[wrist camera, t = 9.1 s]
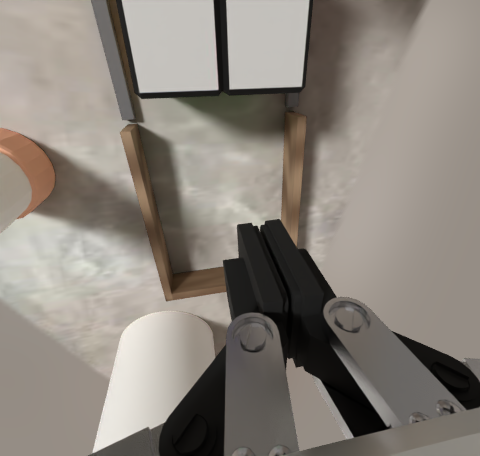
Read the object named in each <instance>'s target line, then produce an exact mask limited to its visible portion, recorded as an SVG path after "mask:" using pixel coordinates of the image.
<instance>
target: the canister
mask: <svg viewBox="0 0 480 456" xmlns="http://www.w3.org/2000/svg"><path fill="white" fill-rule="evenodd" d="M214 359H215V350H214V340H213V333H212V330H211V328H210V326H209V325H208V324H207V323H206V322H205V321H204V320H202V319H201V318H199V317H197V316H195V315H192V314H189V313H185V312H180V311H162V312H156V313H152V314H148V315H146V316H143V317H141V318H139V319H137V320H135V321H134V322H132V323H131V324H130V325H129V326H128V327H127V328H126V329H125V330H124V332H123V334H122V336H121V339H120V343H119V347H118V351H117V355H116V359H115V363H114V367H113V371H112V375H111V379H110V383H109V388H108V392H107V396H106V400H105V404H104V408H103V412H102V416H101V420H100V424H99V429H98V432H97V437H96V441H95V445H94V449H93V453H95V452H97V451H99V450H101V449H103V448H105V447H107V446H109V445H111V444H113V443H115V442H117V441H119V440H122V439H124V438H126V437H128V436H130V435H132V434H134V433H136V432H138V431H140V430H142V429H144V428H146V427H149V429H152V428H154V427H156V426H158V425H160V424H163V423H165V422H166V420H167V419H168V417H169V415H170V414H171V413H172V412H173V410H174V409H175V408H176V407H177V405H178V404H179V403H180V402H181V400H182V399H183V398H184V397H185V395H186V394H187V393H188V392H189V390H190V389H191V388H192V387H193V385H194V384H195V383H196V382H197V380H198V379H199V378H200V377H201V375H202V374H203V373H204V372H205V370H206V369H207V368H208V367H209V365H210V364H211V363H212V362H213V360H214Z"/></svg>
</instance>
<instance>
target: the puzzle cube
mask: <svg viewBox="0 0 480 456" xmlns="http://www.w3.org/2000/svg"><path fill="white" fill-rule="evenodd" d="M116 3H117V8H118V13H119V18H120V23H121V28H122V33H123V37H124V42H125V47H126V52H127V57H128V62H129V67H130V72H131V77H132V82H133V87H134V92H135V93H136V94H137V95H138V96H139V97H140V98H141V99H151V98H176V97H202V96H219V95H220V93H221V92H222V91H223V92H225V93H226V94H228V95H252V94H278V93H300V92H301V91H302V89H303V88H304V87H305V82H306V71H307V60H308V50H309V39H310V28H311V17H312V6H313V0H116Z"/></svg>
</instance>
